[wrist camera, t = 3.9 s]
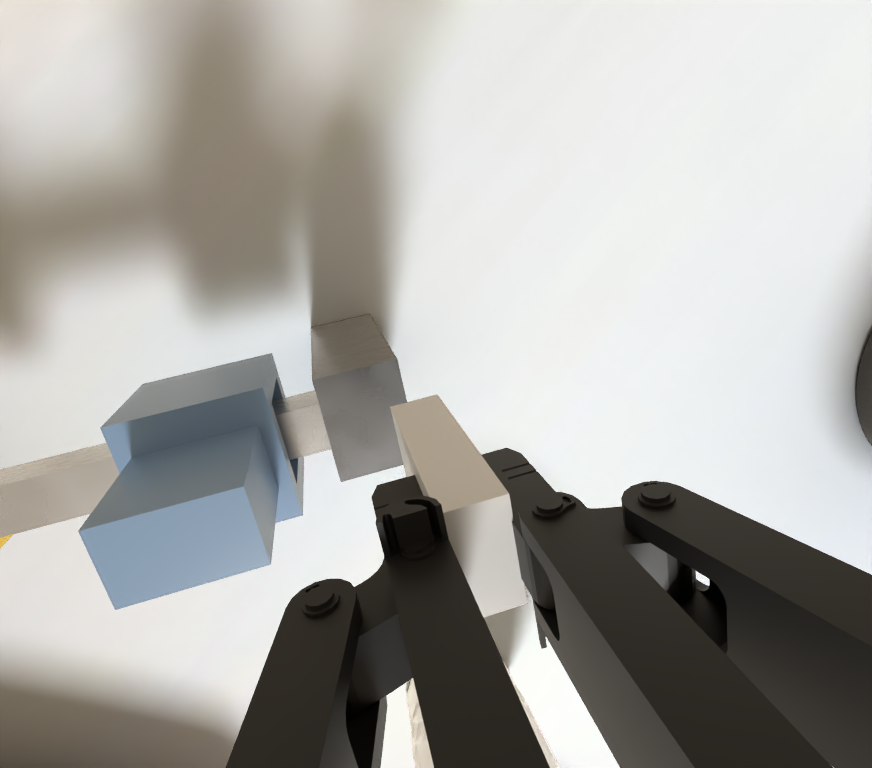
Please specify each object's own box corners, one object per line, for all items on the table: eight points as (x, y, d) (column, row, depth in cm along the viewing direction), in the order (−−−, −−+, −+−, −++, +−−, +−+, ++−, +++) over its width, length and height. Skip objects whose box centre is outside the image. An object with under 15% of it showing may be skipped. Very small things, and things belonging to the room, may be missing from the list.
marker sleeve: (271, 353, 23) (249, 438, 14) (303, 459, 24) (301, 594, 16) (143, 384, 22) (36, 494, 13) (184, 491, 23) (112, 652, 15)
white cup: (377, 722, 36) (401, 899, 27) (429, 621, 35) (474, 771, 25) (482, 742, 39) (538, 911, 29) (535, 649, 37) (611, 795, 28)
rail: (368, 310, 29) (402, 364, 18) (387, 390, 30) (429, 482, 20) (-178, 438, 25) (-517, 594, 15) (-127, 522, 26) (-405, 718, 16)
